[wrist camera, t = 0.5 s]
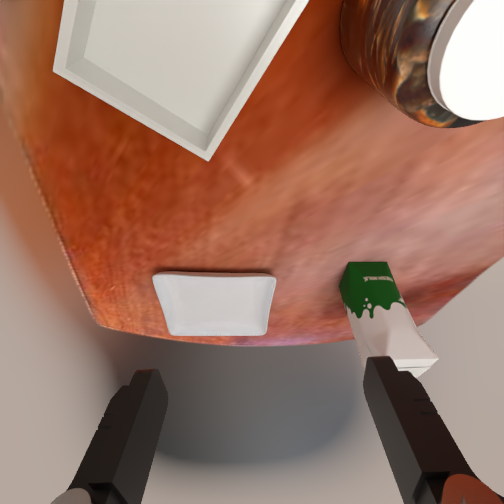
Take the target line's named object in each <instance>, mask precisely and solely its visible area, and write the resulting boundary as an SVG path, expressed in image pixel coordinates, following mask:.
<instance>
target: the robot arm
mask: <svg viewBox="0 0 504 504" xmlns="http://www.w3.org/2000/svg"><path fill="white" fill-rule="evenodd" d="M363 387H364V394H365V397H366V401H367V403H368V406H369V409H370V412H371V414H372V417H373V419H374V422H375V425H376V428H377V430H378V433H379V436H380V439H381V441H382V444H383V447H384V450H385V452H386V455H387V458H388V461H389V463H390V466H391V469H392V472H393V474H394V477H395V480H396V482H397V485H398V488H399V491H400V494H401V496H402V499H403V502H404V504H504V497H502V496H500V495H498V494H497V493H495V492H494V491H492V490H491V489H490V488H489V487H488V486H487V485H485V484H484V483H483V482H481V480H480V479H479V478H478V477H477V476H476V475H475V474H474V472H473V471H472V470H471V468H470V467H469V465H468V464H467V462H466V460H465V458H464V457H463V455H462V453H461V451H460V450H459V448H458V446H457V445H456V443H455V441H454V439H453V438H452V436H451V434H450V432H449V431H448V429H447V427H446V426H445V424H444V422H443V420H442V419H441V417H440V415H438V413H437V410H436V408H435V406H434V405H433V403H432V402H431V401H430V398H429V396H428V394H427V393H426V391H425V389H424V387H423V386H422V384H421V383H420V382H419V381H418V380H417V379H416V378H415V377H414V376H413V375H412V374H411V373H410V372H409V371H398V369H397V367H396V365H395V363H394V361H393V360H392V358H391V357H390V356H374V357H368V358H367V361H366V368H365V374H364V381H363ZM167 406H168V393H167V390H166V387H165V385H164V383H163V380H162V377H161V375H160V372H159V370H158V369H144V370H137V371H136V372H135V373H134V375H133V378H132V380H131V382H130V385H129V386H122V387H121V388H120V389H119V390H118V392H117V393H116V394H115V395H114V396H113V397H112V399H111V400H110V402H109V404H108V407H107V409H106V411H105V413H104V417H102V419H101V422H100V424H99V426H98V430H96V432H95V434H94V437H93V439H92V441H91V443H90V445H89V447H88V449H87V451H86V454H85V456H84V458H83V460H82V462H81V464H80V467H79V469H78V471H77V473H76V475H75V477H74V479H73V481H72V483H71V485H70V486H69V488H68V489H67V491H66V492H64V493H63V494H61V495H60V496H58V497H57V498H56V499H55V500H54V501H53V502H52V503H51V504H141V501H142V497H143V494H144V490H145V486H146V483H147V480H148V476H149V472H150V469H151V465H152V462H153V458H154V454H155V450H156V447H157V443H158V440H159V436H160V432H161V429H162V425H163V422H164V418H165V414H166V411H167Z"/></svg>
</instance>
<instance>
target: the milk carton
mask: <svg viewBox="0 0 504 504" xmlns="http://www.w3.org/2000/svg"><path fill="white" fill-rule="evenodd" d="M339 288H340V292H341V295H342V299H343V302H344V306H345V309H346V312H347V315H348V318H349V321H350V325H351V328H352V331H353V334H354V337H355V340H356V344H357V347H358V350H359V353H360V357H361V361H362V365H363V369H364V373H365V368H366V361H367V358H368V357H374V356H390V357H391V358H392V360H393V361H394V363H395V365H396V367H397V369H398V371H409V372H410V373H411V374H412V375H413V376H414V377H415V378H417V377H419V376H420V375H421V374H422V373H424V372H425V371H426V370H428V369H430V368H431V365H432V364H434V363H435V362H436V361H437V360H438V359H439V358H438V357H437V355H436V354H435V352H434V351H433V350H432V349H431V347H430V346H429V345H428V344H427V342H426V341H425V340H424V339H423V337H422V336H421V334H420V333H419V331H418V329H417V327H416V325H415V323H414V321H413V319H412V317H411V315H410V313H409V311H408V309H407V307H406V305H405V303H404V301H403V299H402V297H401V295H400V293H399V291H398V289H397V286H396V284H395V281H394V279H393V276H392V274H391V271H390V269H389V266H388V264H387V262H349V264H348V266H347V268H346V271H345V273H344V275H343V278H342V280H341V283H340V285H339Z"/></svg>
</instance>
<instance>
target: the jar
mask: <svg viewBox="0 0 504 504" xmlns="http://www.w3.org/2000/svg"><path fill="white" fill-rule="evenodd" d="M340 40H341V46H342V49H343V53H344V55H345V58H346V60H347V61H348V63H349V65H350V66H351V67H352V69H353V70H354V71H355V72H356V73H357V74H358V75H359V76H360V77H361V78H362V79H364V80H365V81H366V82H367V83H368V84H369V85H370V86H371V87H372V88H373V89H375V90H376V91H377V92H378V93H379V94H380V95H381V96H382V97H384V98H385V99H386V100H387V101H388V102H390V103H391V104H392V105H393V106H394V107H396V108H397V109H398V110H400V111H401V112H402V113H404V114H405V115H407V116H408V117H409V118H411V119H413V120H415V121H417V122H419V123H421V124H424V125H427V126H430V127H436V128H458V127H465V126H470V125H473V124H477V123H480V122H483V121H486V120H490V119H496V118H500V117H503V116H504V0H344V2H343V6H342V11H341V17H340Z"/></svg>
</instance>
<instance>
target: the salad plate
mask: <svg viewBox="0 0 504 504" xmlns="http://www.w3.org/2000/svg"><path fill="white" fill-rule="evenodd" d="M152 280H153V284H154V287H155V290H156V293H157V296H158V299H159V301H160V304H161V307H162V310H163V313H164V316H165V319H166V323H167V327H168V330H169V332H170V334H171V335H175V336H258V335H264V334H266V331H267V326H268V319H269V312H270V307H271V303H272V298H273V294H274V290H275V286H276V278H275V277H274V276H272V275H269V274H265V273H210V272H178V271H166V272H160V273H157V274H155V275H153V277H152Z"/></svg>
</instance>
